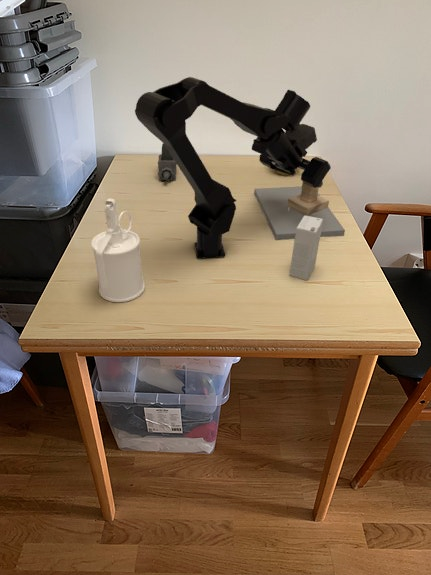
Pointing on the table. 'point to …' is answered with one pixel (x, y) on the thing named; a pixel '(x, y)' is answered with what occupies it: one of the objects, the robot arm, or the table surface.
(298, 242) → the skincare box
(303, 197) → the wooden block tower
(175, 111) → the robot arm
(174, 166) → the caster wheel
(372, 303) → the table surface
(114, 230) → the smoke grenade
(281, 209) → the board
